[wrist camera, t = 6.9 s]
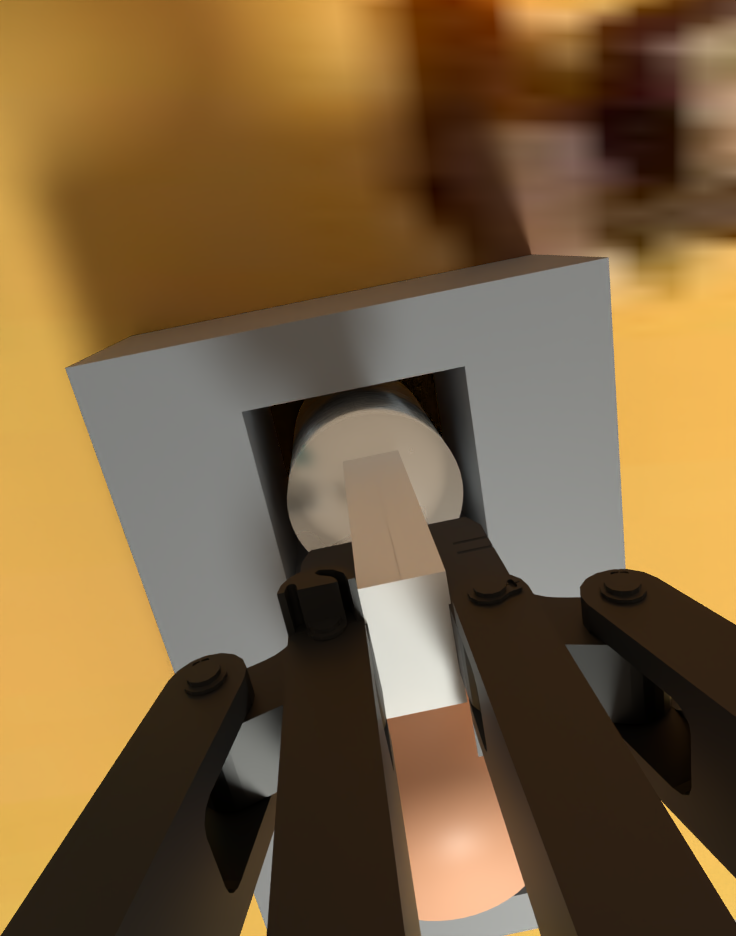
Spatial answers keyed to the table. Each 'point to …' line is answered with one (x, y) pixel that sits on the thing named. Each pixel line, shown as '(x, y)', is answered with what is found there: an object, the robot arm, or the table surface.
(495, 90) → the table surface
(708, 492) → the table surface
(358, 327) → the grey rectangular block
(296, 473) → the steel plug
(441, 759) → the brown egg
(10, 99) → the table surface
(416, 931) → the robot arm
